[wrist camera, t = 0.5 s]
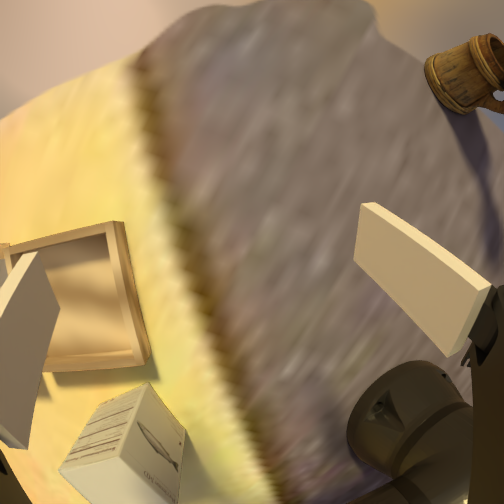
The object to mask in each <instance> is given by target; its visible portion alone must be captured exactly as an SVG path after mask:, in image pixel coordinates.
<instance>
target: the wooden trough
mask: <svg viewBox="0 0 504 504" xmlns="http://www.w3.org/2000/svg"><path fill="white" fill-rule="evenodd" d="M3 249H4V256H5V262H6V268H7V274H8V276H9V274H10V273H11V271H12V270H13V268H14V267H15V265H16V264H17V262H18V261H19V259H20V258H21V256H22V255H23V254H27V253H32V252H37V251H38V253H39V256H40V258H41V261H42V264H43V267H44V269H45V272H46V275H47V277H48V280H49V282H50V285H51V287H52V290H53V292H54V295H55V297H56V299H57V302H58V304H59V306H60V312H59V315H58V318H57V321H56V324H55V328H54V331H53V334H52V338H51V341H50V344H49V348H48V352H47V355H46V359H45V363H44V367H43V371H42V372H66V371H84V370H99V369H111V368H122V367H132V366H141V365H145V364H146V362H147V360H148V358H149V356H150V354H151V349H150V345H149V342H148V338H147V334H146V330H145V326H144V322H143V318H142V314H141V310H140V306H139V301H138V297H137V292H136V288H135V283H134V278H133V273H132V268H131V263H130V258H129V252H128V247H127V241H126V235H125V229H124V222H119V221H109V222H105V223H101V224H96V225H92V226H87V227H83V228H79V229H75V230H71V231H66V232H62V233H58V234H54V235H50V236H47V237H43V238H39V239H35V240H31V241H27V242H24V243H20V244H16V245H13V246H9V247H6V248H3Z"/></svg>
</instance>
